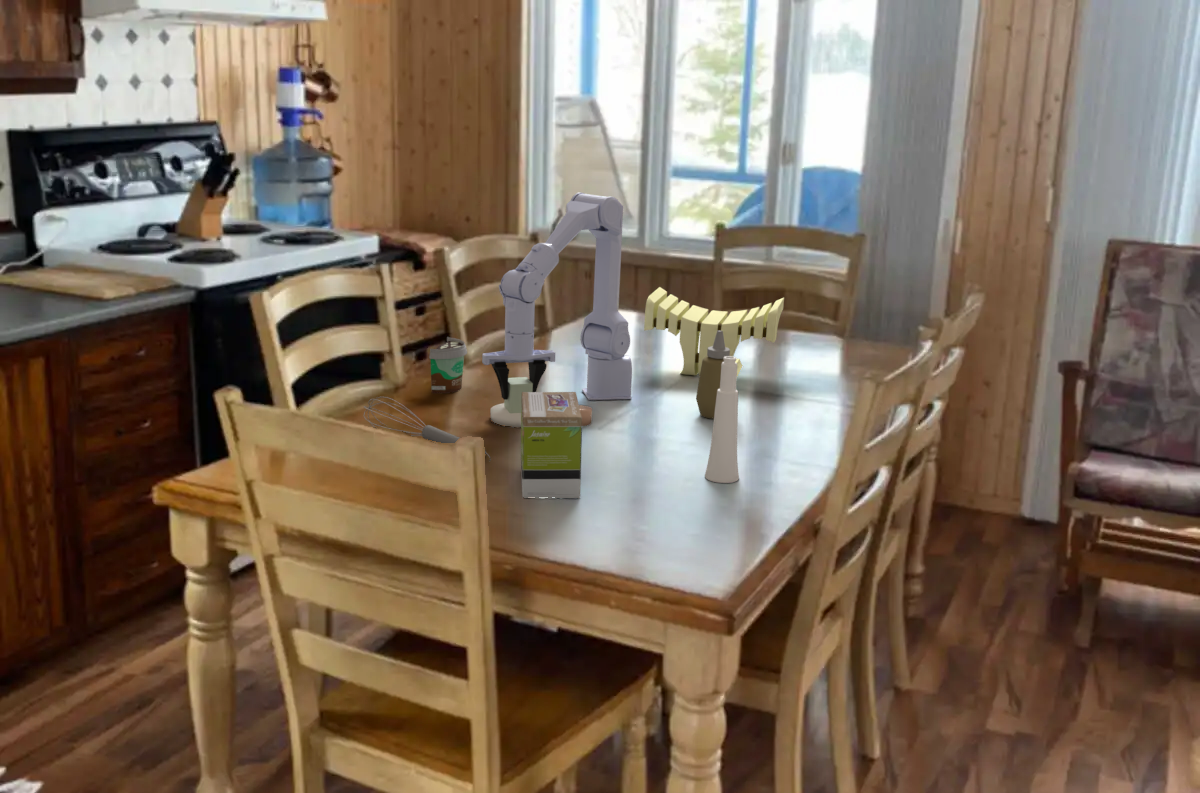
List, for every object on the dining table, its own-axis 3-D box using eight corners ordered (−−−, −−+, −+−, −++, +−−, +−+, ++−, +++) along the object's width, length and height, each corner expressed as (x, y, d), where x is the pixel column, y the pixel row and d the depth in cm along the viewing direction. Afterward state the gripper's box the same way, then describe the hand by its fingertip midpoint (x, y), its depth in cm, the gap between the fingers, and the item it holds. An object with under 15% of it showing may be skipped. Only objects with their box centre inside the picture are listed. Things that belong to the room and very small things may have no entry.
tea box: (519, 469, 215) (520, 389, 211) (575, 470, 215) (578, 390, 211) (520, 500, 200) (522, 414, 196) (581, 500, 201) (584, 415, 197)
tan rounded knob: (588, 419, 246) (589, 404, 245) (593, 426, 241) (594, 411, 241) (564, 419, 245) (565, 405, 244) (569, 427, 240) (569, 412, 240)
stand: (540, 410, 250) (540, 401, 249) (549, 426, 239) (549, 417, 239) (487, 412, 248) (487, 402, 247) (494, 428, 237) (494, 418, 237)
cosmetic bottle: (743, 482, 212) (752, 361, 206) (710, 484, 211) (718, 362, 205) (732, 471, 218) (741, 352, 212) (700, 472, 216) (708, 353, 210)
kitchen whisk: (478, 468, 215) (478, 434, 213) (356, 428, 236) (355, 397, 234) (502, 460, 220) (503, 427, 218) (380, 421, 240) (380, 391, 239)
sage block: (525, 405, 246) (526, 376, 244) (531, 412, 242) (532, 383, 240) (504, 406, 244) (505, 378, 243) (509, 413, 240) (510, 384, 239)
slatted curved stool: (642, 373, 282) (645, 298, 277) (656, 358, 297) (659, 286, 292) (770, 386, 275) (776, 310, 270) (778, 370, 290) (784, 297, 285)
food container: (456, 397, 257) (457, 351, 255) (429, 394, 258) (429, 349, 256) (474, 382, 269) (474, 339, 266) (447, 380, 270) (447, 336, 267)
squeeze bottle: (737, 413, 254) (743, 329, 249) (728, 423, 246) (734, 337, 241) (700, 408, 256) (705, 325, 251) (690, 418, 249) (695, 332, 244)
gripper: (548, 325, 244) (547, 390, 248) (478, 328, 240) (478, 394, 243) (559, 333, 238) (557, 399, 242) (487, 336, 233) (486, 403, 237)
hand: (518, 397), depth 242 cm, fingers open, 5 cm apart
